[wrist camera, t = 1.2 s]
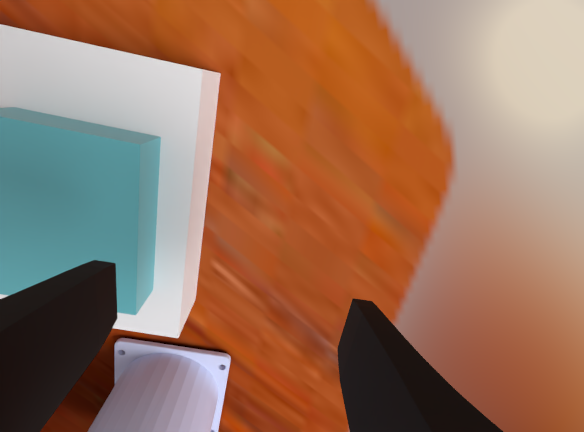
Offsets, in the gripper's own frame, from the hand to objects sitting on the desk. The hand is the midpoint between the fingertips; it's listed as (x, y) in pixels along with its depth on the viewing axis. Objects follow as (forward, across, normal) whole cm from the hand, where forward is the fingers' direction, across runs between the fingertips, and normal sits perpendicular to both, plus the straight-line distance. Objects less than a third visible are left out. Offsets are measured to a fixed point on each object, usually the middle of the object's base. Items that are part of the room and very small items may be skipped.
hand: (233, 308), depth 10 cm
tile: (+6, +8, 0) cm, 10 cm away
